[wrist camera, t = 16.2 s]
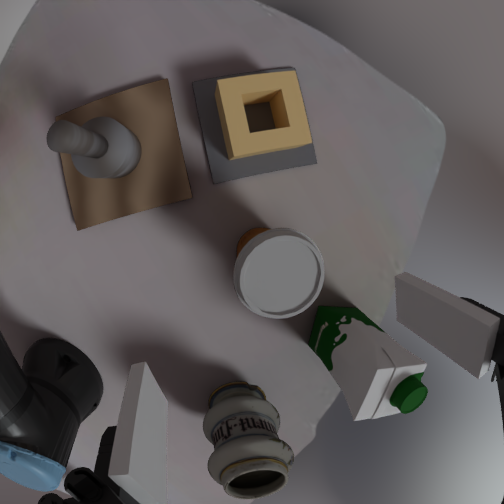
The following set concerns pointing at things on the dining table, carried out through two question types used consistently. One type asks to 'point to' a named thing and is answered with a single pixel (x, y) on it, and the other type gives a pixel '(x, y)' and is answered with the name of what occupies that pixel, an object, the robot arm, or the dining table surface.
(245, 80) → the collar
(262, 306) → the disposable coffee cup
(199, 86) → the mat
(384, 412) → the milk carton
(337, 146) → the dining table surface
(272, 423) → the apothecary jar
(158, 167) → the stand
